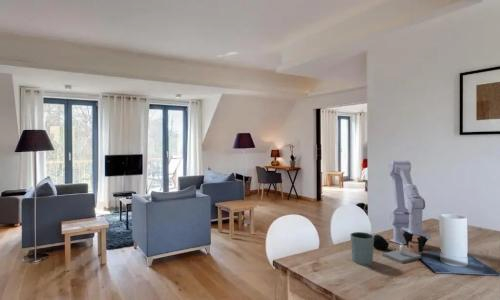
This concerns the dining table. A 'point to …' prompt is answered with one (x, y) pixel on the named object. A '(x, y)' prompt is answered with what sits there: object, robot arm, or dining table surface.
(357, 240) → the green cup
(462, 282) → the dining table surface
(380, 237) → the light bulb
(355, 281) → the dining table surface
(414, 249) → the collar
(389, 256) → the duct plate
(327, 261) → the dining table surface
